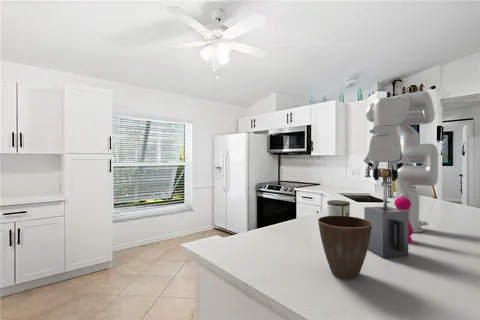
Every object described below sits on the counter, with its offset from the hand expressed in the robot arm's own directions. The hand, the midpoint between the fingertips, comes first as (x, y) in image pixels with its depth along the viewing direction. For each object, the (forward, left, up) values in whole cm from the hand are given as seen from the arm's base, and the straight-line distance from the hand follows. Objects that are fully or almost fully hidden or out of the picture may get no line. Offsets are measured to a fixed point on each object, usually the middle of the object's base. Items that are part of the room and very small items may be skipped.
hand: (385, 180), depth 92 cm
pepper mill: (-17, -11, -27) cm, 34 cm away
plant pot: (+25, +14, -27) cm, 39 cm away
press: (0, +1, -27) cm, 27 cm away
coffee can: (+2, -29, -27) cm, 40 cm away
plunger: (0, 0, -13) cm, 13 cm away
